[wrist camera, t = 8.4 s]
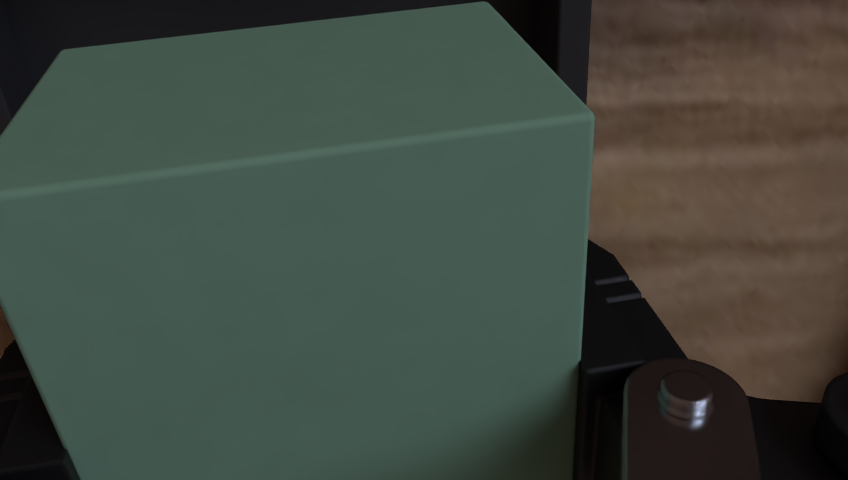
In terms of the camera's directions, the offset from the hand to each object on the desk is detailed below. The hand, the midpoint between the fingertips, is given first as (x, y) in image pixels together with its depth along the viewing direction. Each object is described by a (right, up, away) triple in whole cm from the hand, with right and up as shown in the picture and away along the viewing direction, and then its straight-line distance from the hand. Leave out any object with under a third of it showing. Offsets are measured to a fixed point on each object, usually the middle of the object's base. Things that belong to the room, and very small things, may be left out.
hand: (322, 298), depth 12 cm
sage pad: (0, 0, 0) cm, 1 cm away
